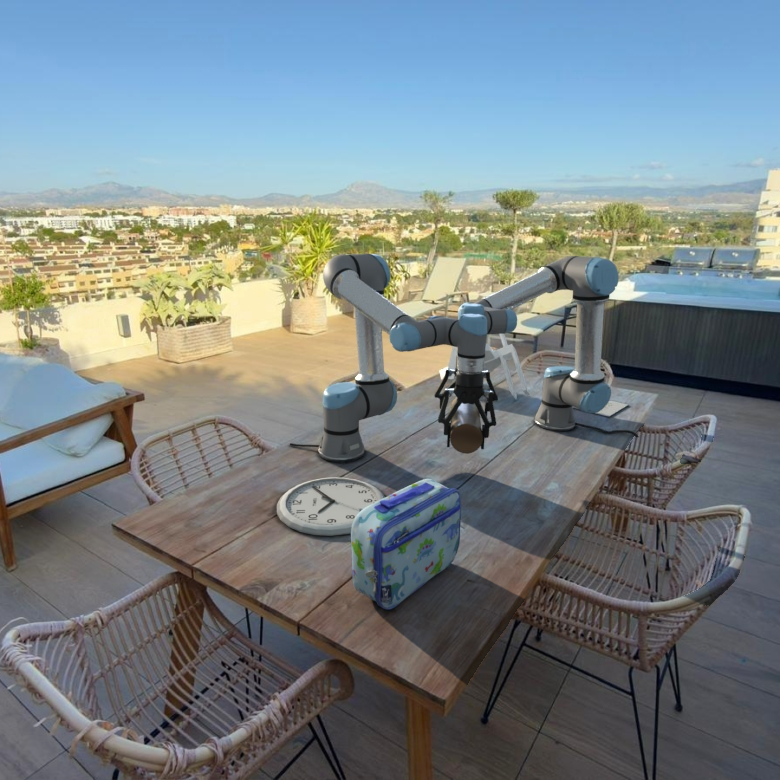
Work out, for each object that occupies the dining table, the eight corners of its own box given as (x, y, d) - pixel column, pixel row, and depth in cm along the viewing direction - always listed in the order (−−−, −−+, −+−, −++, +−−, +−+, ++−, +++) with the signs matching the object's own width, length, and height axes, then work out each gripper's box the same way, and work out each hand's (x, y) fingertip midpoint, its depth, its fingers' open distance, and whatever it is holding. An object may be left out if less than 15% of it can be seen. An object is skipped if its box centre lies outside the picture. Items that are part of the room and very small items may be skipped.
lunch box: (380, 623, 100) (381, 528, 94) (344, 596, 108) (343, 505, 101) (464, 565, 118) (470, 482, 112) (428, 545, 125) (432, 466, 119)
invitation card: (608, 416, 214) (573, 407, 224) (608, 416, 214) (573, 408, 224) (628, 404, 229) (594, 396, 238) (628, 405, 229) (594, 397, 238)
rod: (450, 419, 173) (451, 393, 170) (477, 421, 172) (479, 395, 169) (449, 452, 147) (451, 422, 145) (481, 454, 146) (483, 424, 144)
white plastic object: (461, 429, 252) (437, 405, 227) (444, 352, 274) (420, 323, 250) (535, 404, 240) (518, 377, 215) (510, 326, 262) (492, 293, 237)
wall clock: (392, 527, 129) (268, 531, 127) (391, 533, 130) (269, 537, 127) (383, 473, 158) (282, 475, 155) (383, 478, 158) (282, 480, 156)
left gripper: (430, 372, 141) (426, 449, 148) (511, 376, 139) (504, 454, 146) (431, 365, 149) (428, 439, 155) (508, 369, 146) (502, 443, 153)
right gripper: (428, 355, 159) (425, 421, 166) (510, 359, 157) (504, 425, 163) (429, 350, 167) (426, 413, 173) (508, 353, 164) (502, 417, 170)
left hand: (465, 446), depth 151 cm, fingers closed on rod, 9 cm apart
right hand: (464, 419), depth 168 cm, fingers open, 12 cm apart
